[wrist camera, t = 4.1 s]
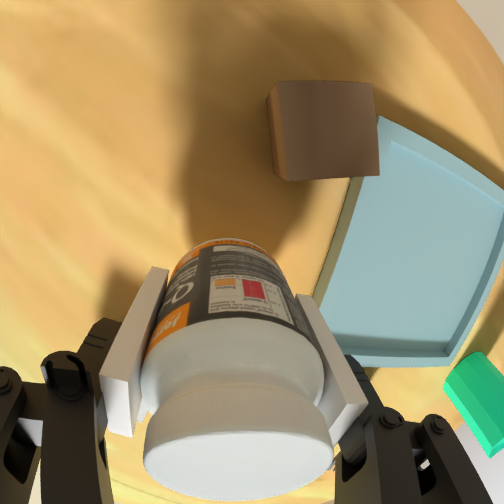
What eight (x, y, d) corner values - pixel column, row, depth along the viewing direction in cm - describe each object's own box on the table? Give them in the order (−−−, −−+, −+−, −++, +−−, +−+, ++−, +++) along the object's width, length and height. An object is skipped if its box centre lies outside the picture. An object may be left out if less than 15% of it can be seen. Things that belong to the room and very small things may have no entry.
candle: (456, 395, 24) (502, 463, 12) (434, 390, 22) (486, 472, 11) (489, 356, 22) (544, 421, 11) (471, 345, 21) (537, 422, 9)
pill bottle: (174, 227, 13) (91, 391, 4) (293, 241, 14) (398, 400, 5) (170, 328, 15) (137, 497, 6) (272, 336, 16) (314, 500, 6)
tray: (292, 347, 18) (296, 362, 17) (367, 117, 14) (379, 115, 12) (441, 356, 20) (449, 365, 19) (507, 199, 16) (520, 203, 14)
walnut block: (273, 173, 15) (288, 181, 11) (265, 98, 13) (277, 81, 9) (345, 168, 15) (379, 175, 11) (339, 97, 13) (372, 83, 9)
